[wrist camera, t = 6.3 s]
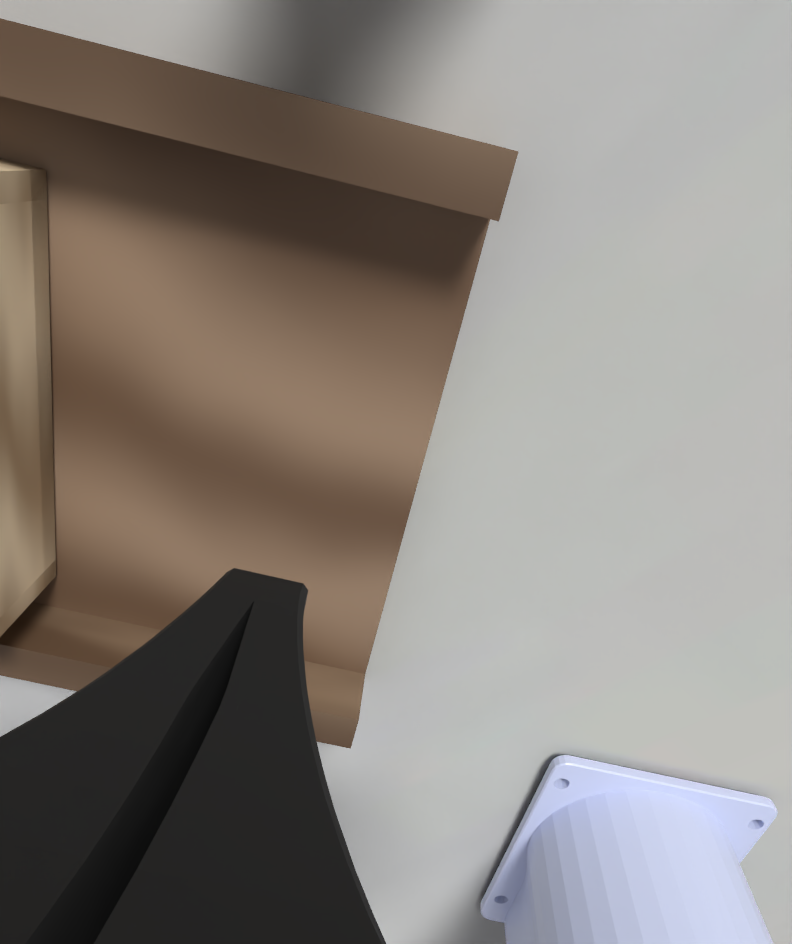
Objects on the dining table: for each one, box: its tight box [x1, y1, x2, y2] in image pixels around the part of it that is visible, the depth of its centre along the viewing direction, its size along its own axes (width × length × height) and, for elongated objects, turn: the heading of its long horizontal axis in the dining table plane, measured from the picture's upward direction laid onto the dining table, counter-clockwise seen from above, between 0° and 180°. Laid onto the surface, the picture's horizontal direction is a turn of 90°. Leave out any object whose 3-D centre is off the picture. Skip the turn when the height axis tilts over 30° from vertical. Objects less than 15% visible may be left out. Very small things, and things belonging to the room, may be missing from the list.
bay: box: [0, 19, 518, 748], centre depth 15 cm, size 16×19×4 cm
